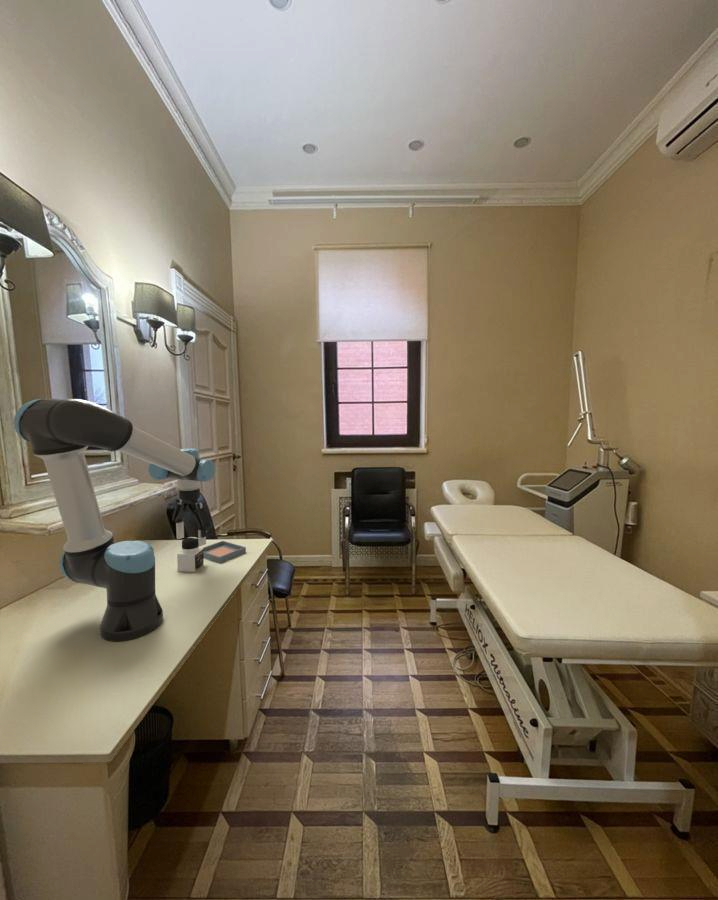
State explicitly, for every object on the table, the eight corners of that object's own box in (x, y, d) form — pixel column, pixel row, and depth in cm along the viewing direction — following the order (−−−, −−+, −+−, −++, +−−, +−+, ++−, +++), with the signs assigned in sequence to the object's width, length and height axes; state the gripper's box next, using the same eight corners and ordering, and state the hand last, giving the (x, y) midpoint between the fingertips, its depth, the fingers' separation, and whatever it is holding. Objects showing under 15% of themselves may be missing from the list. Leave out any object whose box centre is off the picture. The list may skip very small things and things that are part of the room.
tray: (219, 563, 147) (219, 557, 146) (195, 555, 154) (195, 550, 154) (245, 552, 159) (245, 547, 159) (222, 545, 166) (222, 540, 166)
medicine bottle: (195, 572, 138) (195, 542, 137) (177, 571, 138) (176, 541, 137) (203, 564, 145) (203, 535, 144) (186, 564, 145) (185, 535, 144)
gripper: (219, 490, 136) (220, 545, 138) (178, 483, 148) (180, 533, 150) (201, 494, 129) (203, 551, 132) (160, 486, 142) (163, 538, 144)
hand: (191, 541), depth 141 cm, fingers open, 13 cm apart
